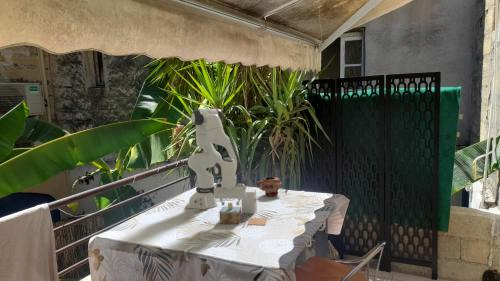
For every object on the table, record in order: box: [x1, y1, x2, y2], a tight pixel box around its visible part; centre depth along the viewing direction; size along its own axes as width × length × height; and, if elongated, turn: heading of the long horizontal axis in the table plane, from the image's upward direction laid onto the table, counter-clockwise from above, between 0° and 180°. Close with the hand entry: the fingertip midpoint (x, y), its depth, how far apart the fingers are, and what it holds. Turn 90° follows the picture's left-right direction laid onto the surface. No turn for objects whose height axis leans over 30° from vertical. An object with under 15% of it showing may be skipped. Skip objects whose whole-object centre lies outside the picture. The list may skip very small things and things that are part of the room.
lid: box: [218, 202, 242, 214], centre depth 222 cm, size 12×10×6 cm
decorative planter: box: [256, 176, 283, 197], centre depth 276 cm, size 20×12×14 cm, turn 94°
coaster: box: [247, 217, 268, 226], centre depth 220 cm, size 11×11×1 cm
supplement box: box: [240, 188, 258, 215], centre depth 239 cm, size 9×9×15 cm
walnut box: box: [218, 209, 243, 225], centre depth 222 cm, size 12×10×7 cm
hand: (230, 205), depth 221 cm, fingers open, 8 cm apart
